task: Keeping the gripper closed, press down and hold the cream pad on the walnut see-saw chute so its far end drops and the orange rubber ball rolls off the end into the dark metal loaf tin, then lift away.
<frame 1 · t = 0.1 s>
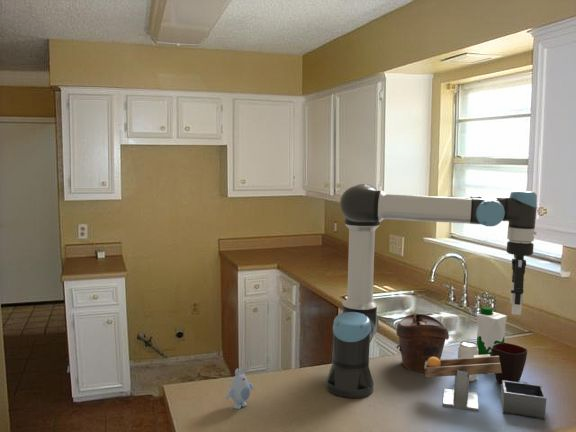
hand: (515, 308, 169), 28 cm above the worktop, fingers open, 13 cm apart
stand: (460, 400, 167), on the worktop
can: (466, 378, 185), on the worktop
lever: (462, 362, 169), point 11 cm above the worktop, hinge at -12.0°, touching ball
ball: (435, 369, 169), point 9 cm above the worktop, tilted 13°, touching lever
cup: (510, 382, 182), on the worktop
case: (419, 365, 195), on the worktop
milk carton: (489, 362, 199), on the worktop
tin: (521, 409, 162), on the worktop
toy figure: (239, 407, 160), on the worktop
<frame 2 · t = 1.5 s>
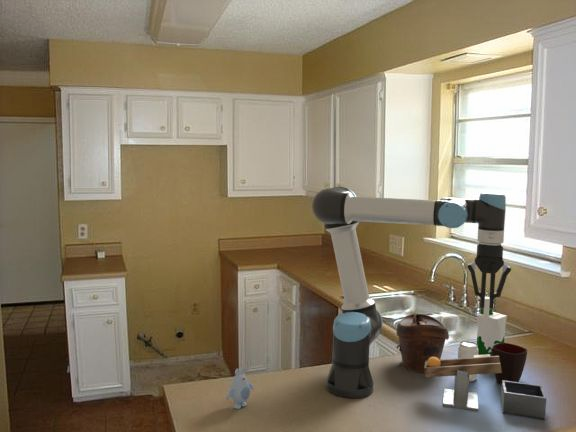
hand: (485, 318, 169), 25 cm above the worktop, fingers closed
nothing on the worktop moved.
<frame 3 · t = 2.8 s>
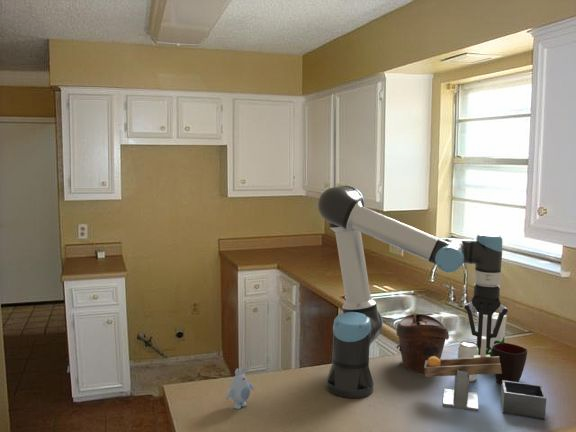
hand: (482, 357, 171), 12 cm above the worktop, fingers closed
lever: (462, 362, 169), point 11 cm above the worktop, hinge at -11.1°, touching ball, gripper
everything else where it was.
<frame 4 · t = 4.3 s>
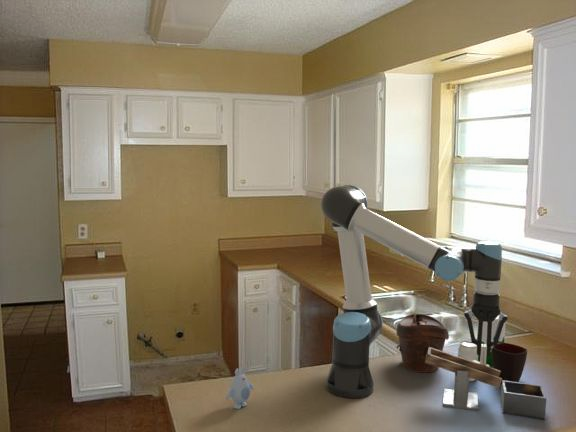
hand: (482, 365, 171), 10 cm above the worktop, fingers closed
lever: (462, 362, 169), point 11 cm above the worktop, hinge at 12.5°, touching gripper
ball: (528, 397, 161), point 4 cm above the worktop, tilted 137°, touching tin
everything else where it was.
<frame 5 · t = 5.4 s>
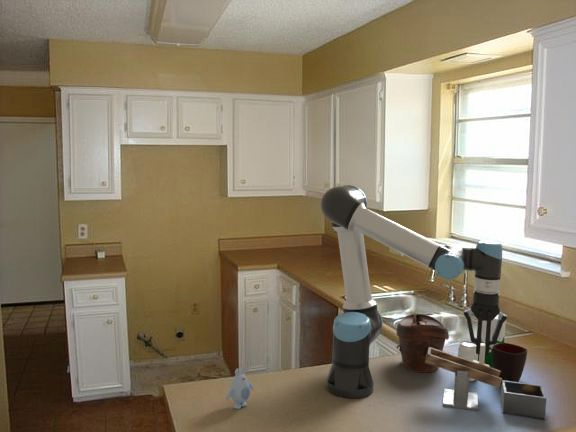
hand: (481, 364, 171), 10 cm above the worktop, fingers closed
lever: (462, 362, 169), point 11 cm above the worktop, hinge at 12.5°
ball: (526, 398, 161), point 4 cm above the worktop, tilted 126°, touching tin
everything else where it was.
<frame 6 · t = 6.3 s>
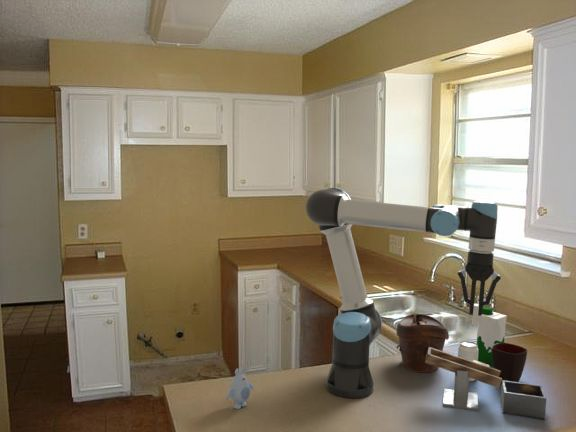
hand: (474, 324, 171), 22 cm above the worktop, fingers closed
ball: (524, 398, 162), point 4 cm above the worktop, tilted 117°, touching tin
everything else where it was.
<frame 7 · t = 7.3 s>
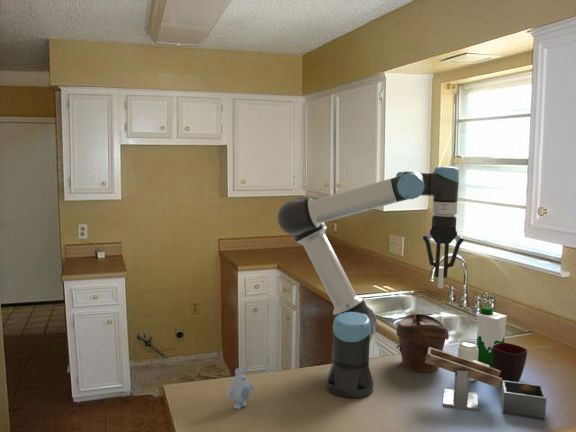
hand: (440, 287, 176), 32 cm above the worktop, fingers closed
ball: (522, 399, 162), point 3 cm above the worktop, tilted 107°, touching tin
everything else where it was.
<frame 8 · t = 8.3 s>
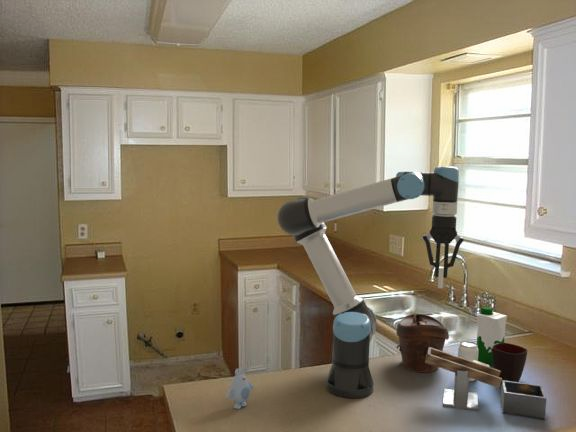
hand: (440, 287, 176), 32 cm above the worktop, fingers closed
ball: (520, 400, 162), point 3 cm above the worktop, tilted 97°, touching tin
everything else where it was.
at the end: ball inside the target area on the tin (0.5 cm from its centre), point 2.8 cm above the tin's base; ball point 2.8 cm above the worktop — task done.
